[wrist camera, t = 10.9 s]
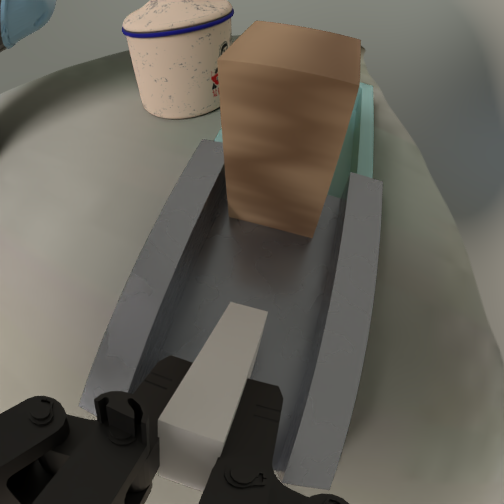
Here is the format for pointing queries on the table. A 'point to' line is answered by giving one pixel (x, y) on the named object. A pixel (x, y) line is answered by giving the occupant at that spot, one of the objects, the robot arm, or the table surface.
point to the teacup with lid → (179, 54)
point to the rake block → (285, 121)
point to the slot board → (255, 306)
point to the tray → (353, 142)
